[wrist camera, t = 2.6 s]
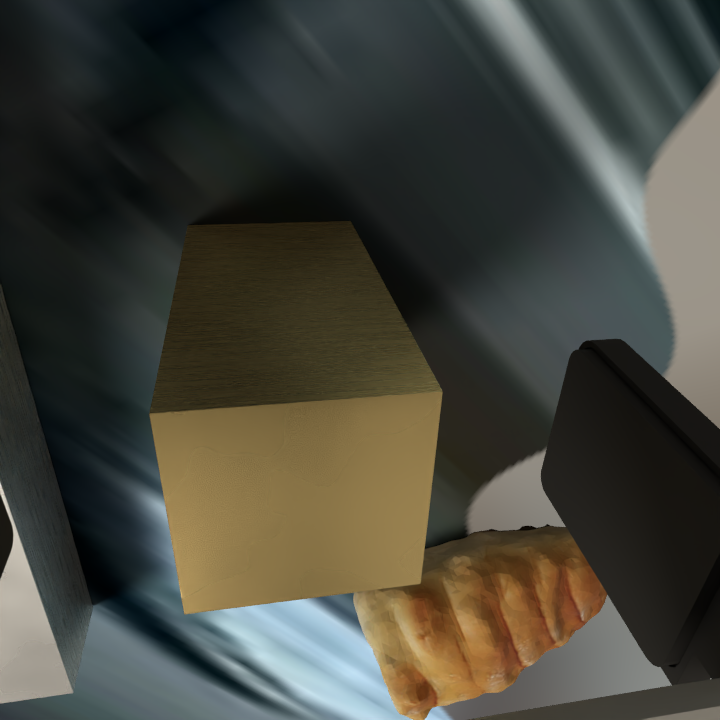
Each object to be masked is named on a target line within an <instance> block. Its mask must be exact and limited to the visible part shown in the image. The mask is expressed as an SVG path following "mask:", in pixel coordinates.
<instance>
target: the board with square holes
mask: <svg viewBox="0 0 720 720" xmlns="http://www.w3.org/2000/svg"><path fill="white" fill-rule="evenodd" d="M0 494H1V497H2V499H3V502H4V505H5V508H6V510H7V513H8V516H9V518H10V521H11V524H12V527H13V546H12V550H11V553H10V555H9V558H8V561H7V563H6V566H5V569H4V571H3V574H2V576H1V579H0V703H6V702H13V701H20V700H27V699H34V698H41V697H48V696H55V695H61V694H68V693H73V691H74V687H75V683H76V679H77V674H78V670H79V666H80V661H81V657H82V653H83V648H84V644H85V640H86V635H87V631H88V627H89V623H90V618H91V614H92V610H93V605H92V602H91V598H90V595H89V591H88V587H87V584H86V580H85V577H84V573H83V570H82V566H81V563H80V559H79V556H78V552H77V549H76V545H75V542H74V538H73V535H72V531H71V528H70V524H69V521H68V517H67V514H66V510H65V507H64V503H63V500H62V496H61V493H60V489H59V486H58V482H57V479H56V475H55V472H54V468H53V465H52V461H51V458H50V454H49V451H48V447H47V444H46V440H45V437H44V433H43V430H42V426H41V423H40V419H39V416H38V412H37V409H36V405H35V402H34V398H33V395H32V391H31V388H30V384H29V381H28V377H27V374H26V370H25V367H24V363H23V360H22V356H21V353H20V349H19V346H18V342H17V339H16V335H15V332H14V328H13V325H12V321H11V318H10V314H9V311H8V307H7V304H6V300H5V297H4V293H3V290H2V286H1V283H0Z"/></svg>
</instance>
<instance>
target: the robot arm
mask: <svg viewBox="0 0 720 720" xmlns="http://www.w3.org/2000/svg"><path fill="white" fill-rule="evenodd" d="M541 482H542V486H543V489H544V491H545V493H546V495H547V497H548V498H549V500H550V501H551V503H552V505H553V506H554V508H555V510H556V511H557V513H558V515H559V516H560V518H561V519H562V521H563V523H564V524H565V526H566V528H567V529H568V531H569V532H570V534H571V536H572V537H573V539H574V541H575V542H576V544H577V545H578V547H579V549H580V550H581V552H582V554H583V555H584V557H585V559H586V560H587V562H588V563H589V565H590V567H591V568H592V570H593V572H594V573H595V575H596V576H597V578H598V580H599V581H600V583H601V585H602V586H603V588H604V589H605V591H606V593H607V594H608V596H609V597H610V599H611V601H612V603H613V604H614V606H615V607H616V609H617V611H618V612H619V614H620V615H621V617H622V619H623V620H624V622H625V624H626V625H627V627H628V628H629V630H630V632H631V633H632V635H633V637H634V638H635V640H636V641H637V643H638V645H639V647H640V648H641V650H642V651H643V653H644V654H645V656H646V658H647V659H648V660H649V661H650V662H651V663H652V664H653V665H655V666H657V667H661V668H662V670H663V671H664V673H665V675H666V676H667V678H668V679H669V681H670V683H671V684H672V686H666V687H660V688H654V689H649V690H642V691H636V692H631V693H624V694H618V695H612V696H606V697H600V698H594V699H588V700H582V701H576V702H570V703H564V704H558V705H552V706H546V707H540V708H534V709H528V710H522V711H516V712H510V713H504V714H498V715H492V716H486V717H481V718H475V719H469V720H720V429H719V428H718V427H717V426H716V425H715V424H714V423H712V422H711V421H710V420H709V419H708V418H707V417H706V416H705V415H704V414H703V413H702V412H701V411H699V410H698V409H697V408H696V407H695V406H694V405H693V404H692V403H691V402H690V401H689V400H687V399H686V398H685V397H684V396H683V395H682V394H681V393H680V392H678V390H677V389H675V388H674V387H673V386H672V385H671V384H670V383H669V382H668V381H667V380H666V379H665V378H664V377H662V376H661V375H660V374H659V373H658V372H657V371H656V370H655V369H654V368H653V367H652V366H650V365H649V364H648V363H647V362H646V361H645V360H644V359H643V358H642V357H641V356H640V355H639V354H637V353H636V352H635V351H634V350H633V349H632V348H631V347H630V346H629V345H628V344H627V343H625V342H624V341H622V340H621V339H606V340H590V341H585V342H583V343H582V345H581V346H580V347H579V350H575V351H573V352H572V354H571V356H570V358H569V362H568V366H567V370H566V374H565V378H564V382H563V386H562V390H561V394H560V398H559V402H558V406H557V410H556V414H555V418H554V422H553V426H552V430H551V434H550V438H549V442H548V446H547V450H546V454H545V458H544V462H543V466H542V470H541ZM12 546H13V527H12V524H11V521H10V518H9V516H8V513H7V510H6V508H5V505H4V502H3V499H2V497H1V494H0V579H1V576H2V574H3V571H4V569H5V566H6V563H7V561H8V558H9V555H10V553H11V550H12ZM710 678H712V679H711V680H710Z"/></svg>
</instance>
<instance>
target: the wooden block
mask: <svg viewBox="0 0 720 720" xmlns="http://www.w3.org/2000/svg"><path fill="white" fill-rule="evenodd" d="M441 401H442V390H441V388H440V386H439V384H438V382H437V380H436V379H435V377H434V375H433V373H432V371H431V369H430V367H429V366H428V364H427V362H426V360H425V358H424V356H423V354H422V353H421V351H420V349H419V347H418V345H417V343H416V341H415V340H414V338H413V336H412V334H411V332H410V330H409V328H408V327H407V325H406V323H405V321H404V319H403V317H402V316H401V314H400V312H399V310H398V308H397V306H396V304H395V303H394V301H393V299H392V297H391V295H390V293H389V291H388V290H387V288H386V286H385V284H384V282H383V280H382V278H381V277H380V275H379V273H378V271H377V269H376V267H375V265H374V264H373V262H372V260H371V258H370V256H369V254H368V252H367V251H366V249H365V247H364V245H363V243H362V241H361V239H360V238H359V236H358V234H357V232H356V230H355V228H354V226H353V225H352V223H351V221H334V222H296V223H258V224H219V225H188V227H187V232H186V237H185V242H184V247H183V252H182V257H181V262H180V266H179V271H178V276H177V281H176V286H175V291H174V296H173V301H172V306H171V311H170V315H169V320H168V325H167V330H166V335H165V340H164V345H163V350H162V355H161V359H160V364H159V369H158V374H157V379H156V384H155V389H154V394H153V399H152V404H151V408H150V413H149V414H150V420H151V426H152V431H153V437H154V443H155V449H156V454H157V460H158V466H159V471H160V477H161V483H162V489H163V494H164V500H165V506H166V511H167V517H168V523H169V529H170V534H171V540H172V546H173V552H174V557H175V563H176V569H177V574H178V580H179V586H180V592H181V597H182V603H183V609H184V614H190V613H198V612H206V611H214V610H221V609H229V608H237V607H245V606H252V605H260V604H268V603H276V602H283V601H291V600H299V599H307V598H314V597H322V596H330V595H337V594H345V593H353V592H361V591H368V590H376V589H384V588H392V587H399V586H407V585H415V584H421V575H422V567H423V558H424V549H425V540H426V532H427V523H428V514H429V505H430V497H431V488H432V479H433V470H434V462H435V453H436V444H437V436H438V427H439V418H440V409H441Z"/></svg>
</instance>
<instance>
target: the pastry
mask: <svg viewBox="0 0 720 720" xmlns="http://www.w3.org/2000/svg"><path fill="white" fill-rule="evenodd" d="M606 596H607V593H606V591H605V589H604V588H603V586H602V585H601V583H600V581H599V580H598V578H597V576H596V575H595V573H594V572H593V570H592V568H591V567H590V565H589V563H588V562H587V560H586V559H585V557H584V555H583V554H582V552H581V550H580V549H579V547H578V545H577V544H576V542H575V541H574V539H573V537H572V536H571V534H570V532H569V531H568V529H567V528H566V527H554V526H550V525H548V524H546V526H543V527H538V528H536V527H533V526H522V527H521V528H520V529H518V530H504V531H498V530H494V529H489V530H486V531H479V532H474V533H472V534H470V535H469V536H468V537H466V538H464V539H460V540H453V541H450V542H447V543H444V544H441V545H438V546H435V547H431V548H428V549H424V558H423V567H422V575H421V584H415V585H407V586H399V587H392V588H384V589H376V590H368V591H361V592H354V597H353V601H354V605H355V609H356V611H357V614H358V618H359V622H360V624H361V627H362V631H363V633H364V635H365V637H366V640H367V642H368V643H369V645H370V646H371V648H372V649H373V652H374V655H375V657H376V659H377V662H378V664H379V666H380V669H381V672H382V676H383V679H384V682H385V683H386V685H387V687H388V691H389V694H390V696H391V699H392V701H393V703H394V706H395V708H396V709H397V711H398V712H399V713H400V714H402V715H405V716H407V717H409V718H411V719H413V720H424V719H425V718H426V717H427V715H428V713H429V711H430V710H431V708H433V707H436V706H444V705H449V704H452V703H455V702H458V701H463V700H468V699H472V698H476V697H478V696H480V695H481V694H483V693H490V692H491V693H494V692H501V691H503V690H505V689H506V688H507V687H508V686H511V685H512V684H513V683H514V682H515V681H516V679H517V677H518V675H519V674H520V672H521V671H522V670H523V669H524V668H525V667H528V666H530V665H532V664H534V663H535V662H536V661H537V660H538V659H539V658H540V657H541V656H542V655H543V654H544V653H545V652H546V651H548V650H551V649H554V648H558V647H561V646H562V645H564V644H565V643H567V642H568V640H569V638H570V637H571V636H572V635H573V634H574V632H575V631H576V630H578V629H580V628H581V627H582V626H583V625H585V624H586V623H587V622H588V620H590V619H591V618H592V617H593V616H595V615H596V614H597V613H598V612H599V611H600V610H601V608H602V606H603V604H604V603H605V599H606Z"/></svg>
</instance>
